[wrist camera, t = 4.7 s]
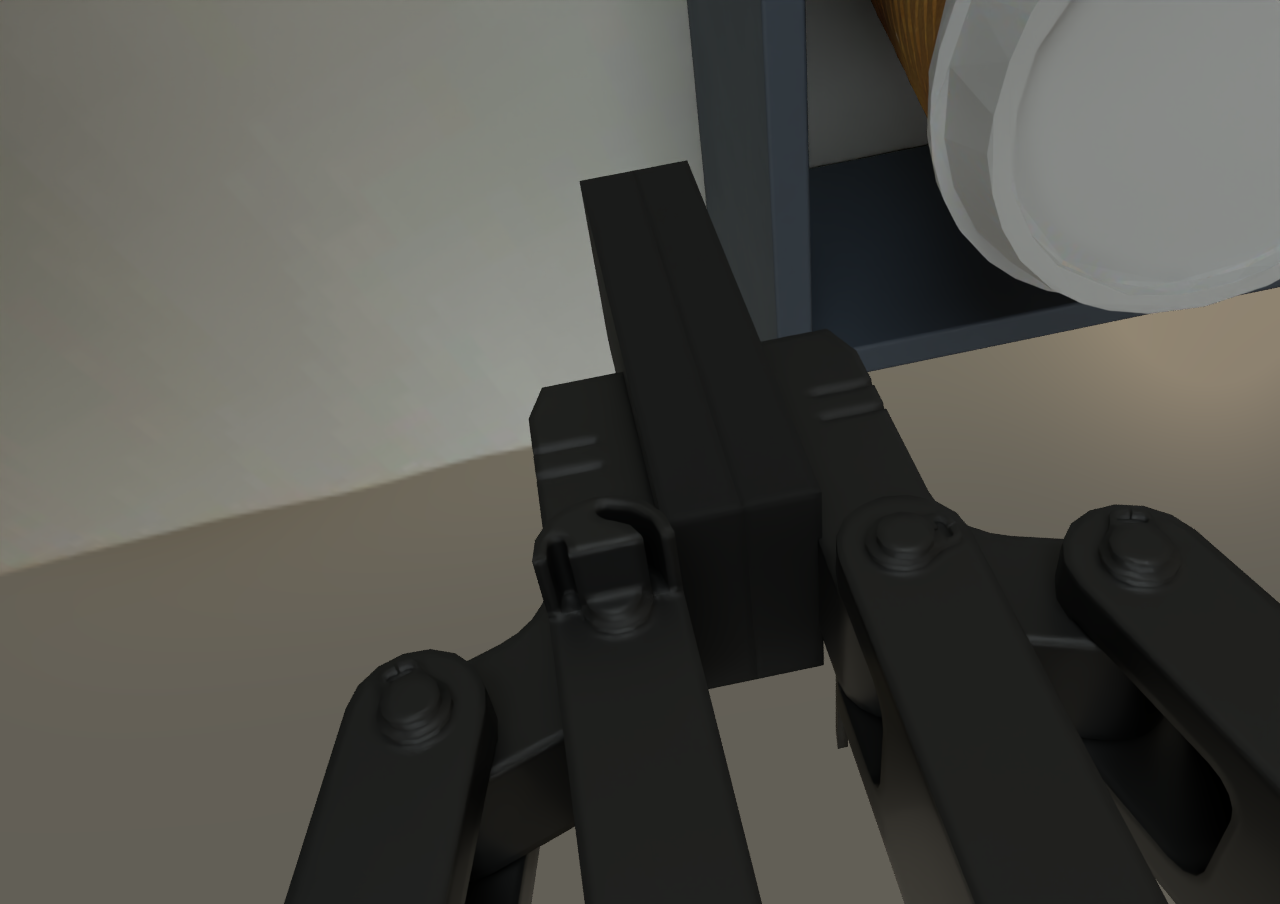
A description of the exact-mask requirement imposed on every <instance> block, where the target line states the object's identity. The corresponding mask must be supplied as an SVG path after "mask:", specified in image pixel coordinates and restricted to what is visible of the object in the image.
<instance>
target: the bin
mask: <svg viewBox="0 0 1280 904" xmlns="http://www.w3.org/2000/svg"><path fill="white" fill-rule="evenodd" d="M687 5H688V15H689V26H690V36H691V46H692V57H693V67H694V78H695V88H696V99H697V109H698V120H699V130H700V141H701V151H702V162H703V172H704V183H705V193H706V204H707V211H708V213H709V216H710V218H711V221H712V223H713V225H714V228H715V230H716V233H717V235H718V238H719V240H720V243H721V245H722V248H723V250H724V253H725V255H726V257H727V260H728V262H729V265H730V267H731V270H732V272H733V275H734V277H735V280H736V282H737V285H738V287H739V289H740V292H741V294H742V297H743V299H744V302H745V304H746V307H747V309H748V312H749V314H750V317H751V319H752V321H753V324H754V326H755V329H756V331H757V334H758V336H759V339H760V341H766V340H771V339H776V338H782V337H787V336H792V335H797V334H802V333H807V332H812V331H817V330H822V329H828V330H830V331H831V332H832V333H834V334H835V335H836V336H838V337H839V338H840V339H842V340H843V341H844V342H846V343H847V344H848V345H850V346H851V347H852V348H854V349H855V350H856V351H857V353H858V354H859V356H860V358H861V360H862V362H863V364H864V366H865V368H866V370H867V372H870V371H875V370H880V369H884V368H889V367H894V366H899V365H904V364H909V363H914V362H918V361H923V360H928V359H933V358H938V357H943V356H948V355H953V354H957V353H962V352H967V351H972V350H977V349H982V348H987V347H991V346H996V345H1001V344H1006V343H1011V342H1016V341H1020V340H1025V339H1030V338H1035V337H1040V336H1045V335H1050V334H1054V333H1059V332H1064V331H1068V330H1074V329H1079V328H1083V327H1088V326H1093V325H1098V324H1103V323H1107V322H1112V321H1117V320H1122V319H1127V318H1132V317H1137V316H1142V315H1146V313H1134V312H1121V311H1109V310H1105V309H1101V308H1097V307H1093V306H1090V305H1086V304H1082V303H1080V302H1078V301H1075V300H1073V299H1071V298H1069V297H1067V296H1065V295H1063V294H1061V293H1058V292H1051V291H1046V290H1044V289H1041V288H1039V287H1036V286H1034V285H1031V284H1028V283H1026V282H1023V281H1021V280H1018V279H1015V278H1014V277H1012V276H1010V275H1009V274H1007V273H1006V272H1004V271H1003V270H1001V269H1000V268H998V267H997V266H995V265H993V264H992V263H990V262H989V261H988V260H987V259H986V258H985V257H984V256H983V255H982V254H981V253H980V252H979V251H978V250H977V249H976V247H975V246H974V245H973V244H972V243H971V242H970V241H969V240H968V239H967V238H966V237H965V236H964V235H963V234H962V232H961V231H960V230H959V228H958V226H957V225H956V223H955V221H954V219H953V217H952V216H951V214H950V212H949V209H948V207H947V205H946V203H945V201H944V199H943V197H942V194H941V192H940V190H939V187H938V185H937V183H936V179H935V174H934V169H933V164H932V158H931V153H930V148H929V145H927V146H922V147H917V148H912V149H907V150H902V151H897V152H892V153H887V154H882V155H877V156H872V157H867V158H862V159H857V160H852V161H847V162H842V163H837V164H832V165H827V166H822V167H817V168H812V169H809V149H808V101H807V53H806V5H805V0H687ZM1277 287H1280V279H1279V280H1277V281H1275V282H1274V283H1272V284H1270V285H1268V286H1265V287H1262V288H1259V289H1256V290H1253V291H1250V292H1247V293H1244V294H1248V293H1252V292H1258V291H1263V290H1268V289H1272V288H1277ZM1241 295H1243V294H1241Z"/></svg>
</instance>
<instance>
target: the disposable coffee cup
mask: <svg viewBox="0 0 1280 904" xmlns="http://www.w3.org/2000/svg"><path fill="white" fill-rule="evenodd" d="M871 2H872V4H873V6H874V8H875V10H876V13H877V16H878V18H879V19H880V21H881V23H882V25H883V27H884V29H885V31H886V33H887V35H888V37H889V39H890V41H891V43H892V45H893V47H894V49H895V52H896V55H897V57H898V59H899V61H900V63H901V64H902V66H903V68H904V70H905V72H906V75H907V77H908V80H909V82H910V84H911V86H912V88H913V90H914V92H915V94H916V95H917V97H918V100H919V102H920V104H921V106H922V108H923V110H924V112H925V114H926V117H927V138H928V143H929V148H930V153H931V158H932V164H933V169H934V174H935V179H936V183H937V185H938V187H939V190H940V192H941V194H942V197H943V199H944V201H945V203H946V205H947V207H948V209H949V212H950V214H951V216H952V217H953V219H954V221H955V223H956V225H957V226H958V228H959V230H960V231H961V232H962V234H963V235H964V236H965V237H966V238H967V239H968V240H969V241H970V242H971V243H972V244H973V245H974V246H975V247H976V249H977V250H978V251H979V252H980V253H981V254H982V255H983V256H984V257H985V258H986V259H987V260H988V261H989V262H990V263H992V264H993V265H995V266H997V267H998V268H1000V269H1001V270H1003V271H1004V272H1006V273H1007V274H1009V275H1010V276H1012V277H1014V278H1015V279H1018V280H1021V281H1023V282H1026V283H1028V284H1031V285H1034V286H1036V287H1039V288H1041V289H1044V290H1046V291H1051V292H1058V293H1061V294H1063V295H1065V296H1067V297H1069V298H1071V299H1073V300H1075V301H1078V302H1080V303H1082V304H1086V305H1090V306H1093V307H1097V308H1101V309H1105V310H1109V311H1121V312H1134V313H1146V314H1151V313H1158V312H1166V311H1174V310H1181V309H1190V308H1197V307H1205V306H1208V305H1210V304H1214V303H1217V302H1220V301H1223V300H1226V299H1229V298H1232V297H1235V296H1238V295H1241V294H1244V293H1247V292H1250V291H1253V290H1256V289H1259V288H1262V287H1265V286H1268V285H1270V284H1272V283H1274V282H1275V281H1277V280H1279V279H1280V0H871Z"/></svg>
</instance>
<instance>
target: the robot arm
mask: <svg viewBox="0 0 1280 904" xmlns="http://www.w3.org/2000/svg"><path fill="white" fill-rule="evenodd" d="M580 186H581V191H582V197H583V202H584V208H585V214H586V219H587V225H588V230H589V236H590V241H591V247H592V253H593V258H594V264H595V269H596V275H597V280H598V286H599V291H600V297H601V303H602V308H603V314H604V319H605V325H606V330H607V336H608V341H609V345H610V350H611V354H612V358H613V363H614V367H615V371H616V373H614V374H609V375H604V376H599V377H594V378H589V379H584V380H579V381H574V382H569V383H564V384H559V385H553V386H548V387H543V388H542V389H541V391H540V394H539V396H538V398H537V401H536V403H535V405H534V408H533V410H532V412H531V414H530V417H529V425H530V433H531V441H532V449H533V454H534V464H535V472H536V477H537V487H538V495H539V503H540V510H541V518H542V526H543V529H542V531H541V532H540V534H539V535H538V537H537V538H536V540H535V545H534V552H533V559H532V562H533V566H534V569H535V573H536V576H537V580H538V583H539V586H540V590H541V593H542V597H543V600H544V601H543V603H542V605H541V607H540V608H539V610H538V611H537V613H536V614H535V616H534V617H533V619H532V620H531V621H530V622H529V623H528V624H527V625H526V626H525V627H524V628H523V629H521V630H520V631H519V633H517V634H516V635H514V636H512V637H511V638H509V639H508V640H506V641H505V642H503V643H502V644H500V645H498V646H496V647H494V648H492V649H490V650H488V651H486V652H484V653H483V654H480V655H479V656H477V657H474V658H472V659H471V660H469V661H466V660H464V659H463V658H461V657H460V656H458V655H457V654H455V653H450V652H444V651H438V650H432V649H429V650H423V651H417V652H412V653H406V654H402V655H400V656H398V657H396V658H395V659H393V660H391V661H389V662H387V663H385V664H383V665H381V666H379V667H377V668H376V669H375V670H374V671H373V672H372V673H371V674H370V675H369V676H368V677H367V678H366V679H365V680H364V681H363V682H362V683H360V684H359V685H358V687H357V689H356V691H355V692H354V694H353V696H352V698H351V700H350V702H349V704H348V706H347V707H346V709H345V713H344V716H343V719H342V722H341V725H340V728H339V732H338V735H337V738H336V741H335V744H334V747H333V750H332V754H331V757H330V760H329V763H328V766H327V769H326V773H325V776H324V779H323V782H322V785H321V788H320V792H319V795H318V798H317V801H316V804H315V807H314V811H313V814H312V817H311V820H310V823H309V826H308V830H307V833H306V836H305V839H304V842H303V845H302V849H301V852H300V855H299V858H298V862H297V865H296V868H295V871H294V874H293V877H292V880H291V884H290V887H289V890H288V893H287V896H286V899H285V903H284V904H531V902H532V894H533V889H534V882H535V876H536V868H537V862H538V855H539V849H540V846H541V845H543V844H545V843H547V842H549V841H550V840H552V839H554V838H555V837H557V836H559V835H561V834H562V833H564V832H566V831H568V830H569V829H571V828H572V827H575V829H576V837H577V845H578V853H579V860H580V869H581V876H582V884H583V892H584V900H585V904H762V902H761V898H760V894H759V890H758V886H757V882H756V878H755V874H754V870H753V866H752V862H751V858H750V854H749V850H748V846H747V842H746V838H745V834H744V830H743V826H742V822H741V818H740V814H739V810H738V806H737V802H736V798H735V794H734V790H733V786H732V782H731V778H730V775H729V770H728V767H727V763H726V758H725V755H724V750H723V746H722V742H721V738H720V735H719V730H718V727H717V723H716V719H715V715H714V711H713V707H712V703H711V699H710V695H709V691H708V689H711V688H716V687H721V686H726V685H731V684H735V683H740V682H745V681H750V680H754V679H759V678H764V677H769V676H774V675H778V674H783V673H788V672H793V671H798V670H802V669H807V668H812V667H817V666H821V665H824V652H823V651H824V650H823V648H824V647H823V640H824V643H825V645H826V649H827V651H828V654H829V657H830V659H831V663H832V665H833V668H834V671H835V674H836V736H837V745H838V749H839V748H844V747H848V740H849V743H850V746H851V749H852V752H853V755H854V758H855V761H856V763H857V767H858V770H859V772H860V775H861V778H862V781H863V784H864V787H865V790H866V793H867V795H868V798H869V801H870V804H871V807H872V810H873V813H874V816H875V819H876V822H877V825H878V828H879V830H880V833H881V836H882V839H883V842H884V845H885V848H886V851H887V854H888V856H889V860H890V862H891V865H892V868H893V871H894V874H895V877H896V880H897V883H898V885H899V889H900V891H901V894H902V897H903V900H904V903H905V904H1168V902H1167V900H1166V898H1165V896H1164V895H1163V893H1162V891H1161V889H1160V887H1159V885H1158V883H1157V881H1158V882H1159V884H1160V885H1161V886H1162V887H1163V889H1164V890H1165V891H1166V892H1167V893H1168V895H1169V896H1170V897H1171V898H1172V899H1173V901H1174V902H1175V903H1176V904H1280V603H1279V602H1277V601H1276V600H1275V599H1274V598H1273V597H1272V596H1271V595H1269V594H1268V593H1267V592H1266V591H1265V590H1264V589H1263V588H1261V587H1260V586H1259V585H1258V584H1257V583H1255V582H1254V581H1253V580H1252V579H1251V578H1250V577H1249V576H1248V575H1246V574H1245V573H1244V572H1243V571H1242V570H1241V569H1239V568H1238V567H1237V566H1236V565H1235V564H1234V563H1233V562H1232V561H1230V560H1229V559H1228V558H1227V557H1226V556H1225V555H1224V554H1222V553H1221V552H1220V551H1219V550H1218V549H1216V548H1215V547H1214V546H1213V545H1212V544H1211V543H1210V542H1209V541H1208V540H1206V539H1205V538H1204V537H1203V536H1202V535H1201V534H1199V533H1198V532H1197V531H1196V530H1195V529H1193V528H1191V527H1190V526H1188V525H1187V524H1185V523H1183V522H1182V521H1180V520H1179V519H1177V518H1176V517H1174V516H1173V515H1170V514H1167V513H1164V512H1161V511H1157V510H1154V509H1151V508H1148V507H1145V506H1133V505H1111V506H1107V507H1103V508H1099V509H1094V510H1090V511H1088V512H1087V513H1086V514H1084V515H1083V516H1081V517H1080V518H1078V519H1077V520H1076V521H1074V522H1073V523H1071V525H1070V527H1069V529H1068V531H1067V533H1066V535H1065V537H1064V539H1053V538H1035V537H1017V536H1007V535H1000V534H993V533H988V532H985V531H982V530H979V529H976V528H973V527H970V526H968V525H966V524H965V522H964V521H963V520H962V519H961V518H960V516H959V515H958V514H957V513H956V512H954V511H952V510H951V509H949V508H947V507H945V506H943V505H942V504H940V503H938V502H936V501H935V500H934V499H933V497H932V496H931V494H930V493H929V491H928V490H927V488H926V486H925V484H924V482H923V480H922V478H921V476H920V474H919V472H918V470H917V468H916V466H915V464H914V462H913V460H912V458H911V456H910V454H909V452H908V450H907V448H906V446H905V445H904V443H903V441H902V439H901V437H900V435H899V433H898V431H897V429H896V427H895V425H894V423H893V421H892V419H891V417H890V415H889V413H888V411H887V409H884V406H883V402H882V400H881V398H880V396H879V394H878V392H877V390H876V388H875V386H874V385H872V382H871V378H870V376H869V374H868V372H867V370H866V368H865V366H864V364H863V362H862V360H861V358H860V356H859V354H858V353H857V351H856V350H855V349H854V348H852V347H851V346H850V345H848V344H847V343H846V342H844V341H843V340H842V339H840V338H839V337H838V336H836V335H835V334H834V333H832V332H831V331H830V330H828V329H822V330H817V331H812V332H807V333H802V334H797V335H792V336H787V337H782V338H776V339H771V340H766V341H760V339H759V336H758V334H757V331H756V329H755V326H754V324H753V321H752V319H751V317H750V314H749V312H748V309H747V307H746V304H745V302H744V299H743V297H742V294H741V292H740V289H739V287H738V285H737V282H736V280H735V277H734V275H733V272H732V270H731V267H730V265H729V262H728V260H727V257H726V255H725V253H724V250H723V248H722V245H721V243H720V240H719V238H718V235H717V233H716V230H715V228H714V225H713V223H712V221H711V218H710V216H709V213H708V211H707V208H706V206H705V203H704V201H703V198H702V196H701V193H700V191H699V189H698V186H697V184H696V181H695V179H694V176H693V174H692V171H691V169H690V166H689V164H688V161H682V162H677V163H671V164H666V165H661V166H656V167H651V168H645V169H640V170H635V171H630V172H625V173H619V174H614V175H609V176H604V177H599V178H593V179H588V180H583V181H580ZM1156 880H1157V881H1156Z"/></svg>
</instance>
